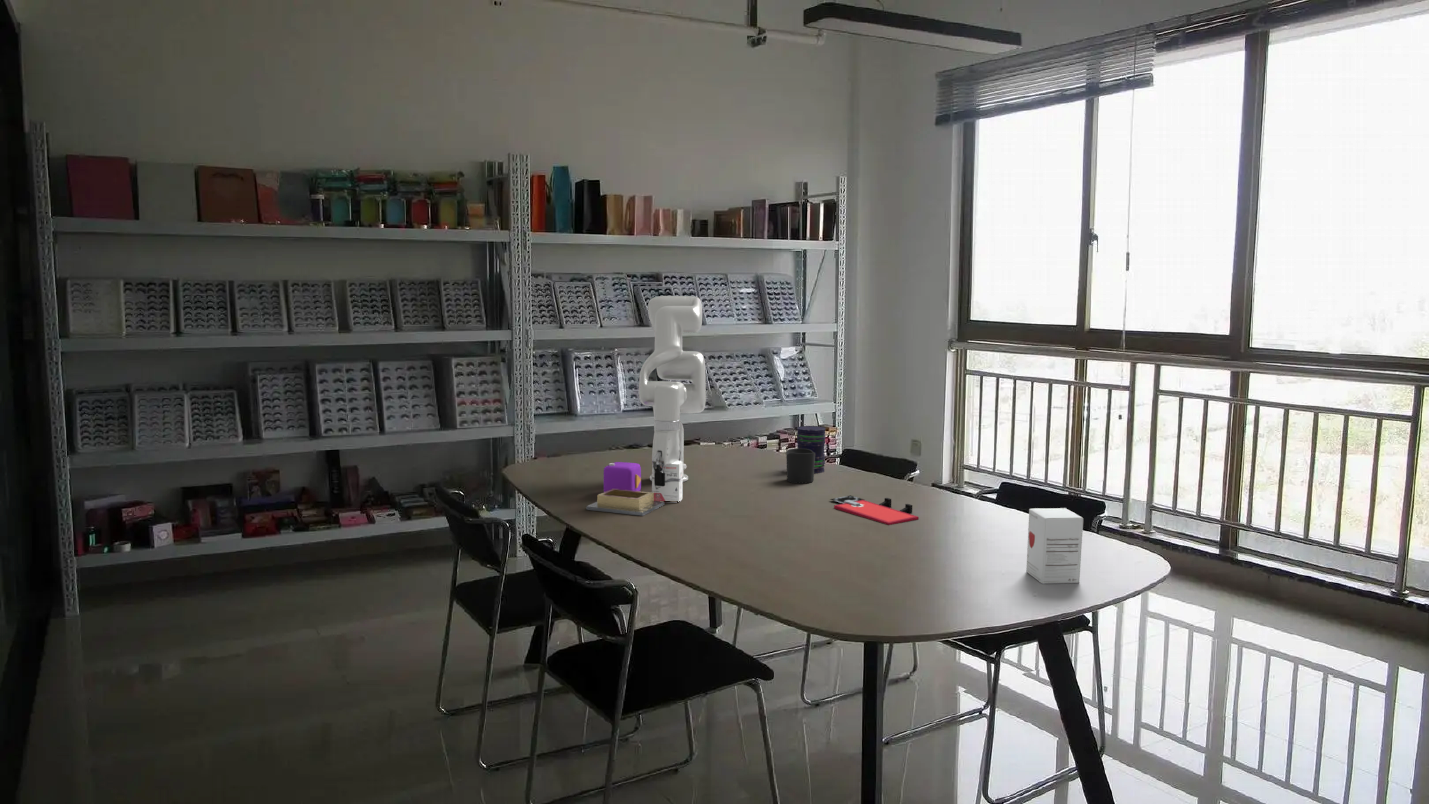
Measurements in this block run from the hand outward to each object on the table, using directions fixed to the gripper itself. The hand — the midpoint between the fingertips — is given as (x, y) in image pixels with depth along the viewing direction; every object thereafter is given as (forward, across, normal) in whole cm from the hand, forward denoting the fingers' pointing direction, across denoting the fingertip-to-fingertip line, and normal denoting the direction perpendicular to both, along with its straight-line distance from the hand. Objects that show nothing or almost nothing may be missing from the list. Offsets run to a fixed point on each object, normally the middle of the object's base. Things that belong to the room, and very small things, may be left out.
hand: (666, 483), depth 290 cm
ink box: (+6, -1, 0) cm, 6 cm away
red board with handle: (+6, -14, +58) cm, 60 cm away
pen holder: (+5, -44, +28) cm, 52 cm away
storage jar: (+4, -62, +26) cm, 67 cm away
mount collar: (+6, +12, -7) cm, 15 cm away
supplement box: (+7, +32, +111) cm, 116 cm away
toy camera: (+5, -4, -16) cm, 18 cm away
